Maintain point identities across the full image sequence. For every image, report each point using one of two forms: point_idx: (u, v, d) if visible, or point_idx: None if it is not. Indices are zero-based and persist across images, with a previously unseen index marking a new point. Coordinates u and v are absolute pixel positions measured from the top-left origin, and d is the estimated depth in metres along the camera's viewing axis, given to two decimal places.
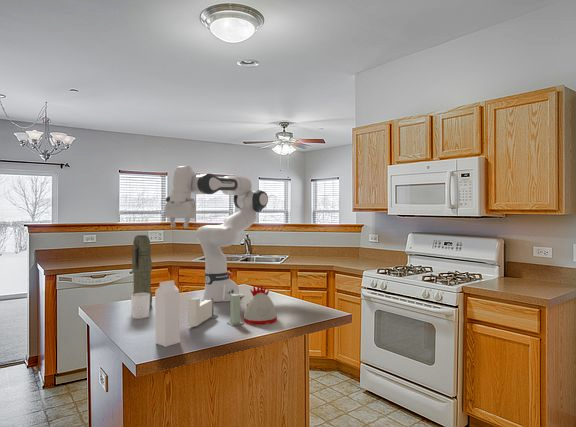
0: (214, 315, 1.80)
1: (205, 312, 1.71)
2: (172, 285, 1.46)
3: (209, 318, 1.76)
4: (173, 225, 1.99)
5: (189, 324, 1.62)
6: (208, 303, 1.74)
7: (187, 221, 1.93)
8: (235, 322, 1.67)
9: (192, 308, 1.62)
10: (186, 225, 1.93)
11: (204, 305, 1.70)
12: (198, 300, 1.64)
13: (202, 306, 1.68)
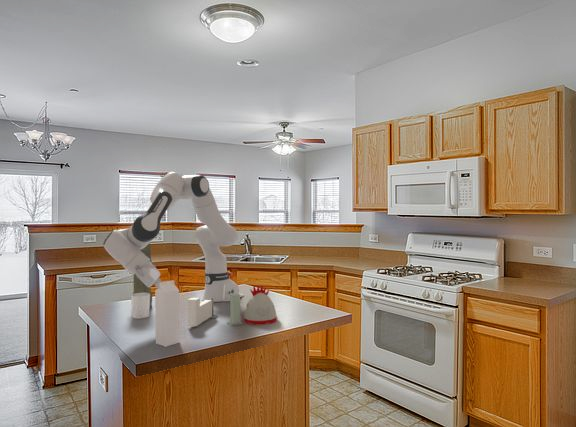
0: (214, 315, 1.80)
1: (205, 312, 1.71)
2: (172, 285, 1.46)
3: (209, 318, 1.76)
4: None
5: (189, 324, 1.62)
6: (208, 303, 1.74)
7: (158, 284, 1.59)
8: (235, 322, 1.67)
9: (192, 308, 1.62)
10: None
11: (204, 305, 1.70)
12: (198, 300, 1.64)
13: (202, 306, 1.68)
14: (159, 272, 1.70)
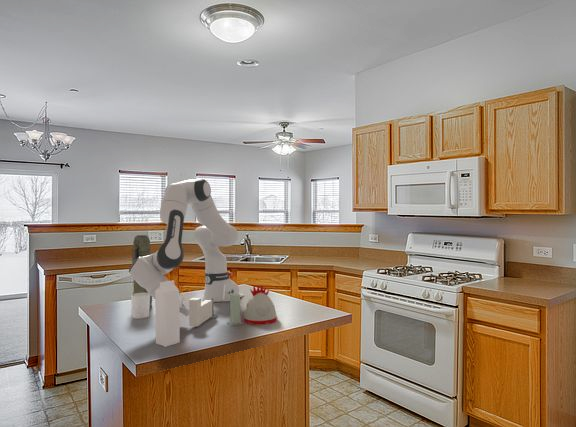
0: (214, 315, 1.80)
1: (206, 312, 1.71)
2: (172, 285, 1.46)
3: (209, 318, 1.76)
4: None
5: (190, 324, 1.62)
6: (208, 303, 1.74)
7: (182, 310, 1.61)
8: (235, 322, 1.67)
9: (193, 308, 1.62)
10: (186, 313, 1.62)
11: (205, 305, 1.70)
12: (199, 300, 1.64)
13: (203, 306, 1.68)
14: (182, 296, 1.72)
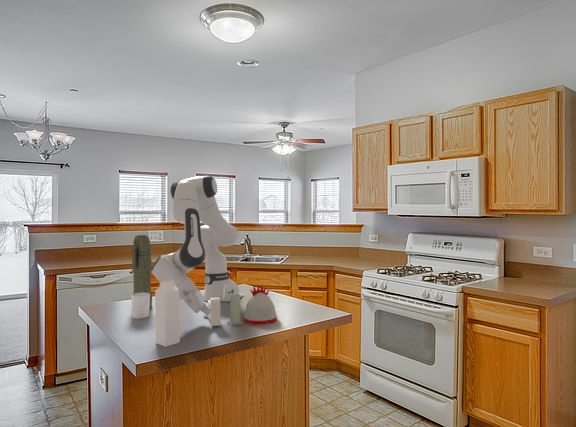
0: None
1: None
2: (172, 285, 1.46)
3: None
4: None
5: (213, 324, 1.62)
6: None
7: (203, 309, 1.62)
8: (235, 322, 1.67)
9: (216, 307, 1.62)
10: (207, 312, 1.63)
11: None
12: None
13: None
14: (202, 295, 1.73)
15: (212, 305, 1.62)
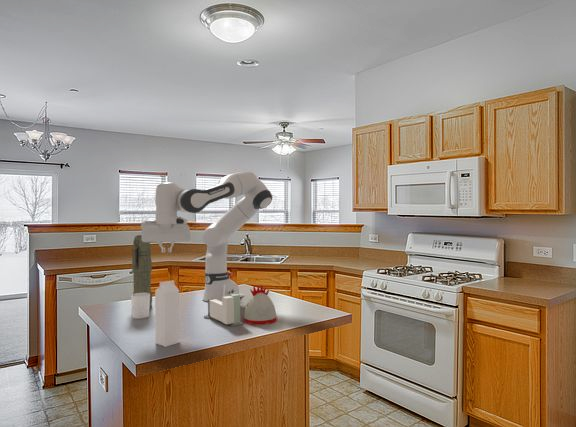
0: None
1: None
2: (172, 285, 1.46)
3: (209, 318, 1.76)
4: None
5: (227, 322, 1.64)
6: None
7: (159, 245, 1.74)
8: (235, 322, 1.67)
9: (230, 306, 1.65)
10: None
11: None
12: None
13: None
14: (186, 238, 1.75)
15: (227, 304, 1.64)
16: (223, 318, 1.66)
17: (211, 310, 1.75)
